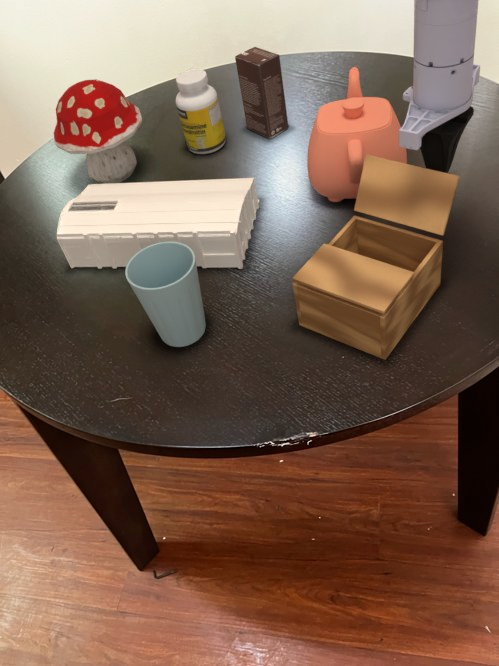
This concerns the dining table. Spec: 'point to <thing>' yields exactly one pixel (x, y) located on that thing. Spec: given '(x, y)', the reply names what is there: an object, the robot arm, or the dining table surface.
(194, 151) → the pill bottle
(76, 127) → the decorative mushroom
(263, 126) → the box
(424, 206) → the flap
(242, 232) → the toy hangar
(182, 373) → the dining table surface
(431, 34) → the robot arm
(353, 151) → the teapot
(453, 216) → the dining table surface
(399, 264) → the wooden box
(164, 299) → the cup
